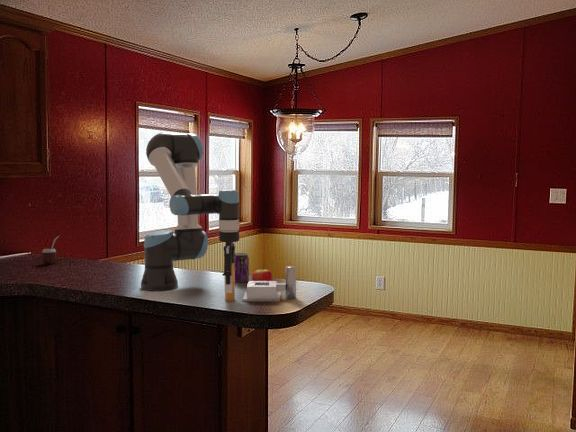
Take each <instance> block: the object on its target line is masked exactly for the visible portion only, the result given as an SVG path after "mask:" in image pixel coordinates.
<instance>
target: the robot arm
mask: <svg viewBox="0 0 576 432" xmlns="http://www.w3.org/2000/svg"><path fill="white" fill-rule="evenodd" d="M145 150H146V151H145V153H146V154H145V155H146V157H147V160H148V162H149V164H150V165H151V166H152V167H154V168H155V170H156V172H157V173H158V175H159V177H160V179H161V181H162V183H163V184H164V187H165V188H166V190H167V193H168V194H169V195H170V198H169V203H168V204H169V210H170V213H171V214H173V215H174V216H177V226H176V227H175V228H174V233H173V230H171V229H170V230H169V229H166V230H164V229H163V230H158V231H153V232H149V233H147V234H146V235H145V236H144V243H143V249H144V250H143V252H144V255H143V256H144V272H143V275H142V277H141V281H140V289H141V290H144V291H156V292H157V291H158V292H159V291H167V290H168V291H169V290H174V289H176V288H178V287H179V286H178V285H179V284H178V283H179V282H178V278H177V275H176V272H175V270H174V269H175V268H174V262H175V261H176V262H177V261H188V260H189V261H190V260H192V261H193V260H197V259H201V258H203V257H204V256H205V255H206V253H207V252H208V246H209V237H208V235H207V233H206V231H204V230H203V227H202V226H201V225H200V224H199V217H198V216H199V215H210V214H211V215H212V214H217V215H218V231H219V233H218V235H219V236H218V237H219V239H218V240H219V242H221V243H225V245H224V246H223V257H224V258H223V261H224V263H223V273H222V276H224V294H225V293H232V263H234V274H235V270H236V267H235V254H236V246H235V243H237V242H240V232H239V230H240V225H241V224H242V223H241V221H240V195H239V191H238V190H236V189H220V190H219V192H218V193H209V194H208V193H206V194H203V193H202V194H197V181H196V168H197V166H198V165H199V161H201V160H202V158H203V153H204V151H203V150H204V148H203V143H202V140H201V138H200V137H199V136H198V135H197V134H195V133H190V132H189V133H188V132H160V133H157V134H155V135H154V136H152V137H151V138H150V139H149V141H148V143H147V146H146V149H145ZM226 271H229V272H226Z"/></svg>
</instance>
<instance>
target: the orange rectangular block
mask: <svg viewBox="0 0 576 432" xmlns="http://www.w3.org/2000/svg"><path fill="white" fill-rule="evenodd" d="M226 272H229V271H226ZM235 287H236V283H235V274H234V263H232V293H225V292H224V299H225V300H224V301H226V302H234V301H236V300H235V299H236V298H235V297H236V296H235V295H236V293H235V292H236V290H235V289H236V288H235Z"/></svg>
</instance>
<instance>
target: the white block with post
mask: <svg viewBox="0 0 576 432" xmlns="http://www.w3.org/2000/svg"><path fill="white" fill-rule="evenodd" d="M282 292H285V299H286V300H295V299H297V266H294V265H289V266H288V265H287V266H285V282H278V281H277V280H271V281H253V280H248V282H247V286H246V291H244V294H243V297H242V302H281V296H282V295H281V293H282Z"/></svg>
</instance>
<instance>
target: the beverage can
mask: <svg viewBox="0 0 576 432" xmlns="http://www.w3.org/2000/svg"><path fill="white" fill-rule="evenodd" d="M248 255H249V254H248V253H245V252H244V253H243V252H240V253H239V252H238V253H237V252H235V267H236V270H235V282H236V283H245V282H247V281H250V265H249V263H250V261H249V260H250V259H249V256H248Z"/></svg>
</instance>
